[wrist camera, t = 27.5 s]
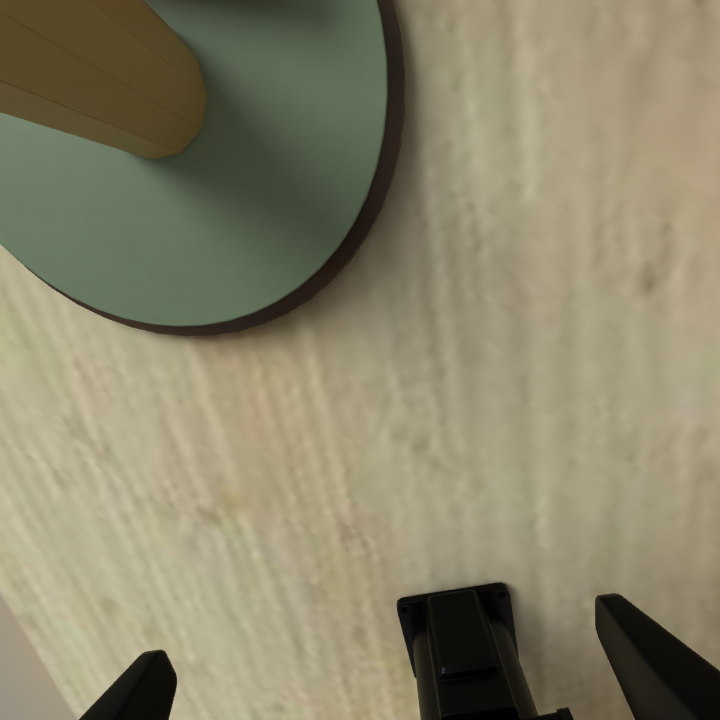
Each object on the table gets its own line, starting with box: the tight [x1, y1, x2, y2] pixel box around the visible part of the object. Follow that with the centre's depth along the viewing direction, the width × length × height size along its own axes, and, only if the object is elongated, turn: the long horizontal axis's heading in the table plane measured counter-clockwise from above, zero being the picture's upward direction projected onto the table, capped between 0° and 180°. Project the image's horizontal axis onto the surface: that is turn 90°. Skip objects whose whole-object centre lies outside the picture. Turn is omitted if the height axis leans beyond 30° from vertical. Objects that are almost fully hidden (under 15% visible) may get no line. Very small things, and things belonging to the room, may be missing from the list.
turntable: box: [0, 0, 388, 327], centre depth 10 cm, size 17×17×10 cm
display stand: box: [25, 0, 405, 336], centre depth 15 cm, size 18×18×1 cm
